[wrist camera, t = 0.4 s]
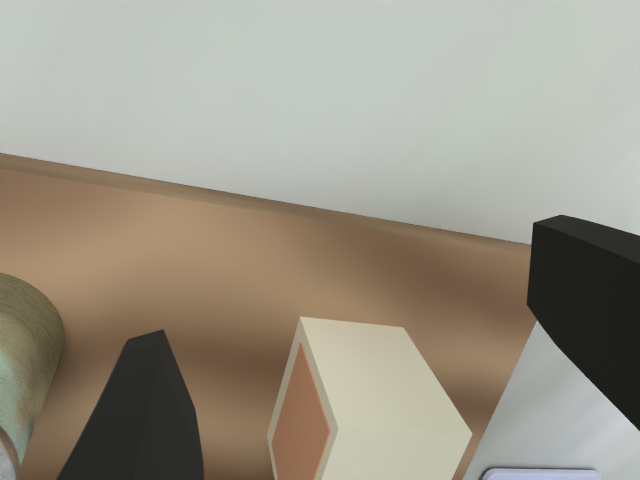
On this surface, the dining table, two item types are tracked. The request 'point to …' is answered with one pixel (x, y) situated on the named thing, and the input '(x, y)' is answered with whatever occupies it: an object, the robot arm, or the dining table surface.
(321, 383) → the carton
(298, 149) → the dining table surface
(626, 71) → the dining table surface
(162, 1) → the dining table surface
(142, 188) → the shelf board
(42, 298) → the sage tin
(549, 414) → the dining table surface
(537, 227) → the robot arm
